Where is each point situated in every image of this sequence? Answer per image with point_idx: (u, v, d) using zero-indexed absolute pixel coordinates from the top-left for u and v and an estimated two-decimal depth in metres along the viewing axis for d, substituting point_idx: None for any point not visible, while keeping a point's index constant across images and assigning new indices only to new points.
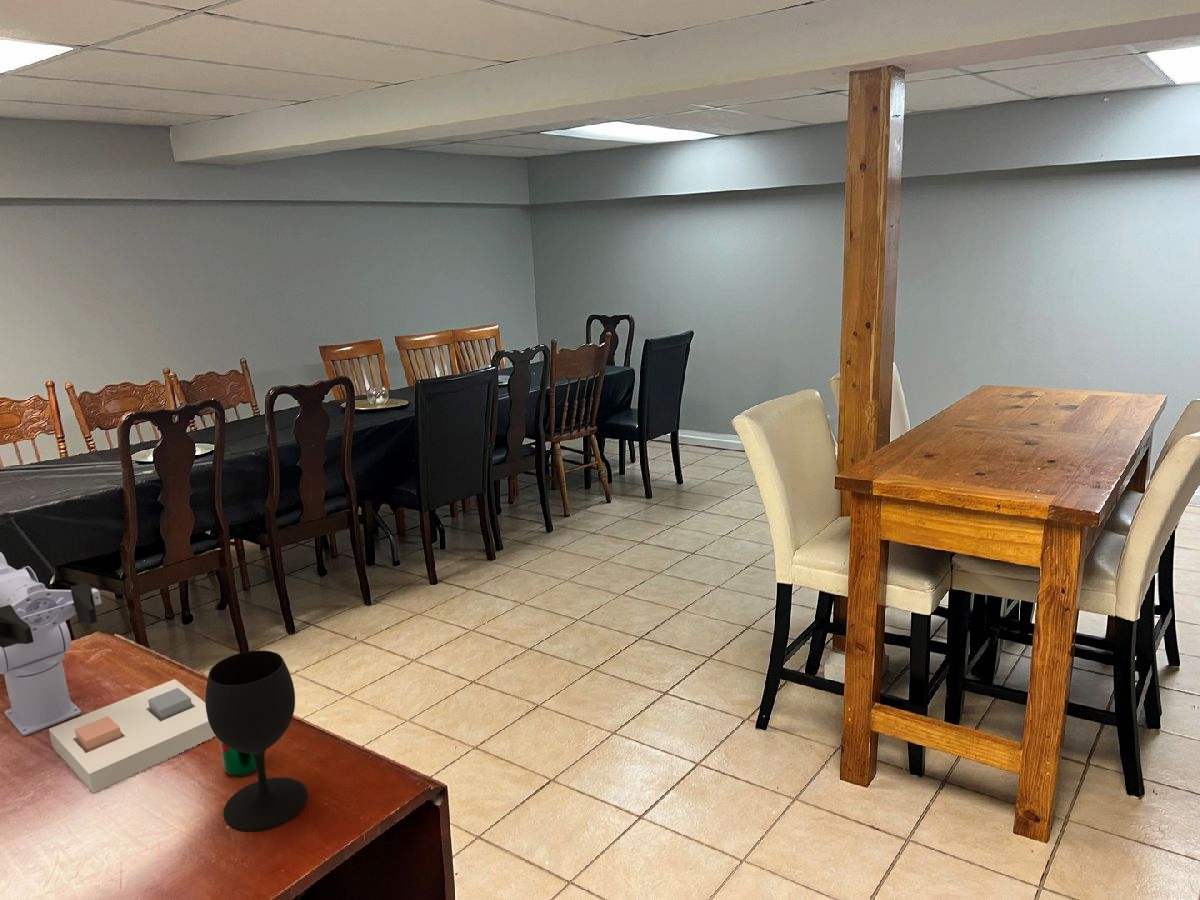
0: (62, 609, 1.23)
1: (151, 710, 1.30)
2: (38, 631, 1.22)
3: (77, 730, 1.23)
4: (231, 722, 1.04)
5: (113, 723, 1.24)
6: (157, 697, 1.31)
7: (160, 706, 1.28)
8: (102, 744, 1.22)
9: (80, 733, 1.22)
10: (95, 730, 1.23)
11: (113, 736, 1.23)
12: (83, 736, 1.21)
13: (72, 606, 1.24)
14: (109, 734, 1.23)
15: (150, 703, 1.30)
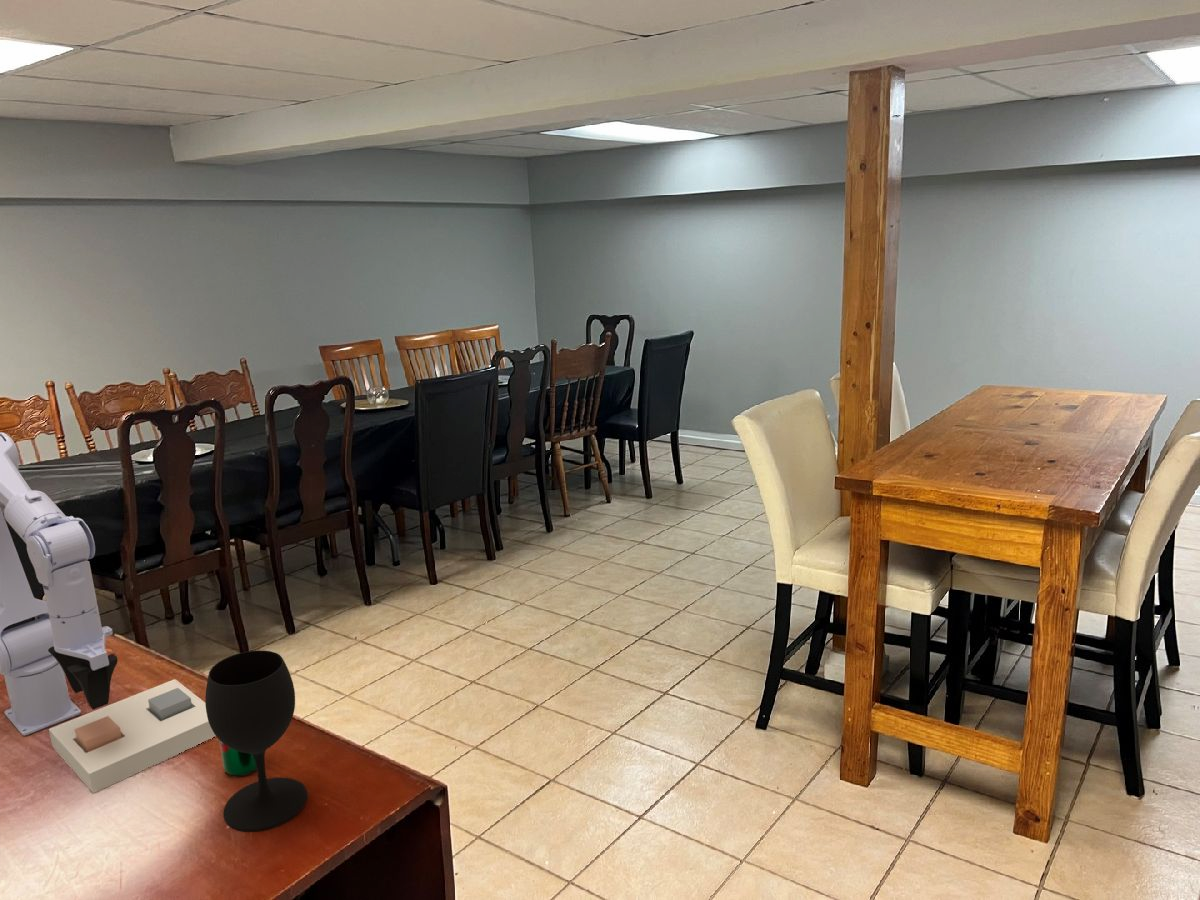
0: None
1: (151, 710, 1.30)
2: None
3: (77, 730, 1.23)
4: (231, 722, 1.04)
5: (113, 723, 1.24)
6: (157, 697, 1.31)
7: (160, 706, 1.28)
8: (102, 744, 1.22)
9: (80, 733, 1.22)
10: (95, 730, 1.23)
11: (113, 736, 1.23)
12: (83, 736, 1.21)
13: None
14: (109, 734, 1.23)
15: (150, 703, 1.30)
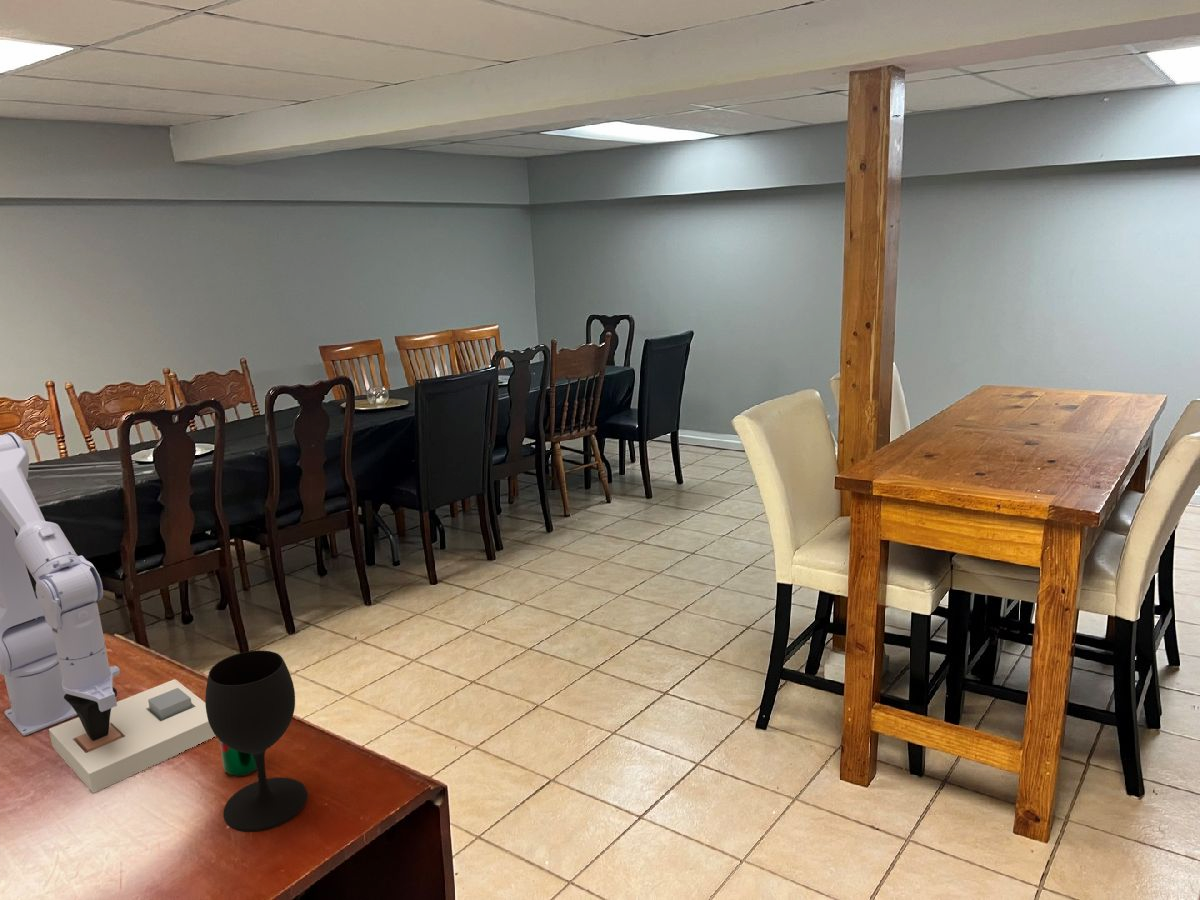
0: None
1: (151, 710, 1.30)
2: None
3: (79, 738, 1.23)
4: (231, 722, 1.04)
5: (114, 731, 1.25)
6: (157, 697, 1.31)
7: (160, 706, 1.28)
8: None
9: (82, 741, 1.23)
10: None
11: None
12: (85, 744, 1.22)
13: None
14: (110, 742, 1.23)
15: (150, 703, 1.30)
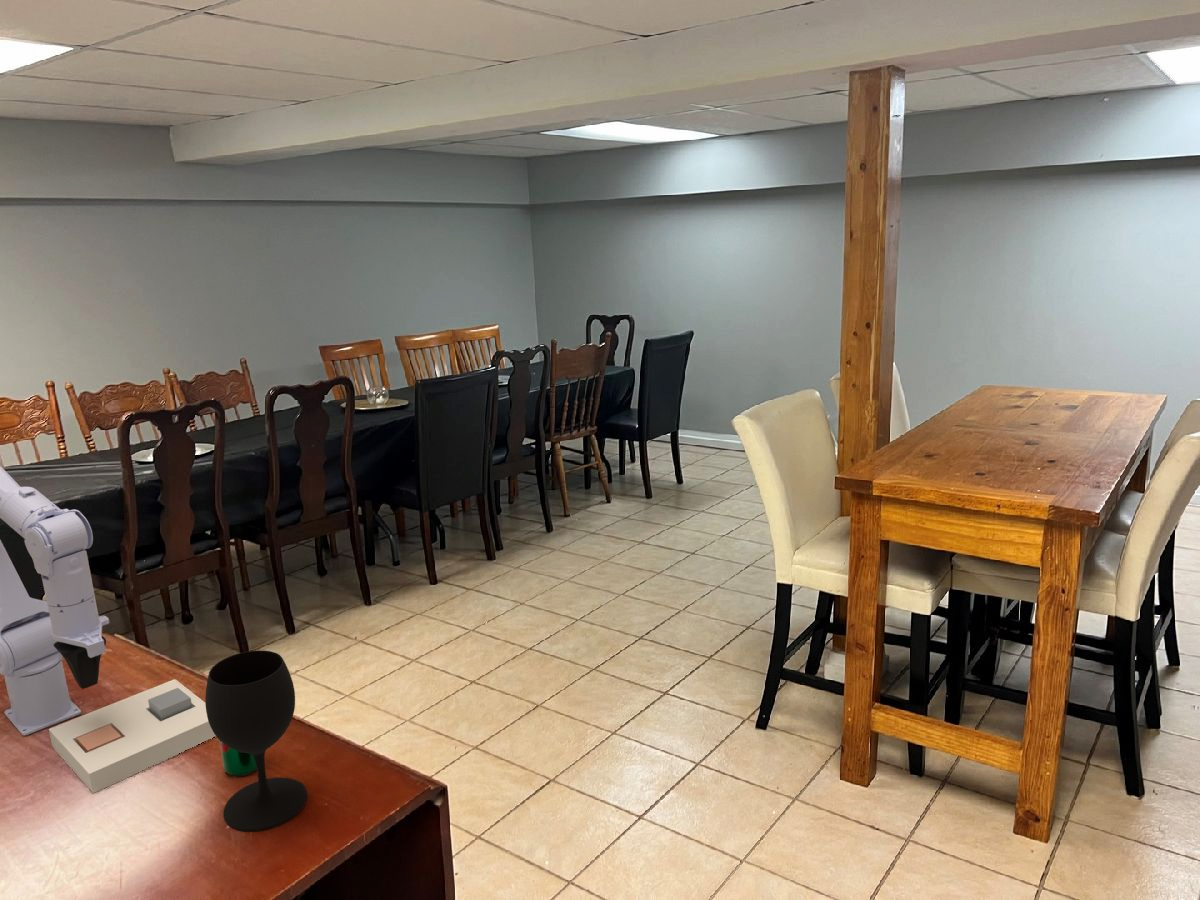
0: None
1: (151, 710, 1.30)
2: None
3: (79, 739, 1.23)
4: (231, 722, 1.04)
5: (115, 732, 1.25)
6: (157, 697, 1.31)
7: (160, 706, 1.28)
8: None
9: (82, 742, 1.23)
10: (97, 739, 1.23)
11: None
12: (85, 745, 1.22)
13: None
14: None
15: (150, 703, 1.30)
